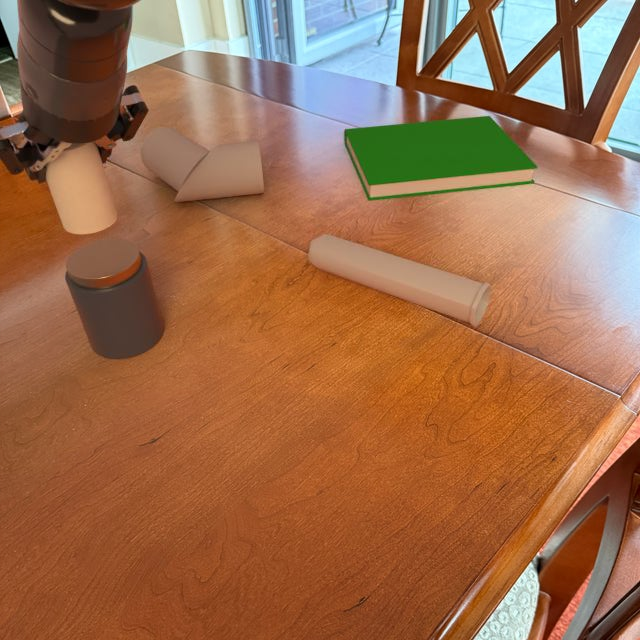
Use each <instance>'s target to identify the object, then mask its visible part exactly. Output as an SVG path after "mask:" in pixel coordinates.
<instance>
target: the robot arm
mask: <svg viewBox="0 0 640 640" xmlns="http://www.w3.org/2000/svg"><path fill="white" fill-rule="evenodd" d="M141 1H142V0H16V4H17V18H18V29H19V30H18V35H17V43H16V51H17V52H16V55H17V64H18V75H19V87H20V98H21V99H20V100H21V106H22V111H21V113H20V114H19V115H18V117H17V122H15V123H13V124H10V125H2V126H0V161H1V162H2V164H3V165H4V166H5V168H6V169H7V171H8V172H9V174H10V175H11V176H15V175H20V174H21V173H24V171H25V173H26V175H27V176H28V179H29V180H30V181H32V182H33V181H36V182H37V183H38V184H43V183H47V180H46V167H45V165H46V163H47V162H50V161H55V160H56V159H57V158H58V156H59V155H60V154H61V153H62V151H63V150H64V149H65V148H69V147H70V145H71V144H85V143H90V142H95V143H96V144H97V146H98V150H99V153H100V156H101V160H102V163H103V165H104V164H106V163H107V159H108V158H110V157H111V155H112V152H113V149H114V148H115V147H116V146H117V141H119V140H121V141H123V142H130V141H131V140H134V138H135V136H136V135H137V132H138V131H139V130H140V128H141V126H142V123H143V122H144V120H145V118H146V116H147V115H148V113H149V111H150V109H149V108H148V106H147V104H146V102H145V99H144V98H143V96H142V94H141V92H140V90H139V88H138V86H137V85H135V84H133V85H129V86H127V87H126V88H124V87H125V83H126V80H127V74H128V49H129V43H130V38H131V32H132V28H133V23H134V22H133V21H134V5H136V4H137V3H139V2H141ZM21 140H22V141H21ZM20 141H21V142H20Z"/></svg>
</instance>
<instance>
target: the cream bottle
mask: <svg viewBox="0 0 640 640" xmlns="http://www.w3.org/2000/svg"><path fill="white" fill-rule="evenodd" d="M45 167H46V183H47V186H48V189H49V191H50V194H51V197H52V200H53V203H54V205H55V207H56V211H57V213H58V217H59V219H60V222H61V224H62V227H63V229H64V230H65V231H66V232H68V233H69V234H72V235H73V234H74V235H89V234H90V235H91V234H95V233H98V232H101V231H104V230H107V229H108V228H109V227H111V226H112V225H114V224H115V223H116V222H117V220H118V212H117V208H116V205H115V201H114V198H113V195H112V191H111V187H110V185H109V181H108V178H107V177H108V176H107V174H106V171H105V166H104V164H103V163H102V160H101V156H100V153H99V150H98V146H97V144H96V143H95V142H90V143H85V144H71V145H70V147H69V148H65V149H64V150H63V151H62V153H61V154H60V155H59V156H58V158H57V159H56V160H55V161H50V162H47V163H46V165H45Z"/></svg>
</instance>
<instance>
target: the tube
mask: <svg viewBox="0 0 640 640" xmlns="http://www.w3.org/2000/svg"><path fill="white" fill-rule="evenodd" d="M307 260H308V261H309V262H310V263H311V264H312V266H314V267H315V269H317V270H318V271H321V272H324V273H326V274H328V275H329V274H330V275H332V276H335V277H338V278H340V279H344V280H346V281H349V282H352V283H355V284H357V285H360V286H364V287H366V288H369V289H372V290H374V291H378V292H380V293H383V294H385V295H389V296H392V297H394V298H397V299H400V300H403V301H405V302H408V303H411V304H414V305H417V306H421V307H423V308H426V309H429V310H431V311H434V312H437V313H440V314H443V315H446V316H448V317H452V318H455V319H456V320H460V321H463V322H466V323H468V324H470V325H471V326H472V327H474V328H477V327H478V326H479V324H480V322H481V321H482V319H483V318H484V316H485V313H486V312H487V309H488V307H489V304H490V300H491V295H492V287H491V284H490V282H487V281H486V282H479V281H476V280H473V279H470V278H467V277H464V276H461V275H458V274H454V273H452V272H448V271H445V270H441V269H439V268H437V267H433V266H429V265H426V264H423V263H420V262H417V261H414V260H410V259H407V258H404V257H401V256H397V255H394V254H392V253H388V252H385V251H383V250H379V249H376V248H373V247H369V246H366V245H363V244H360V243H357V242H354V241H350V240H347V239H344V238H341V237H338V236H336V235H331V234H328V233H324V234H322V235H319V236H317V237H316V238H314V239H313V238H312V240H310V244H309V248H308V253H307Z"/></svg>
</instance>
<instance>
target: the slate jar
mask: <svg viewBox="0 0 640 640" xmlns="http://www.w3.org/2000/svg"><path fill="white" fill-rule="evenodd" d="M65 269H66V271H65V275H64V279H65V283H66V285H67V288H68V291H69V293H70V296H71V299H72V301H73V304H74V306H75V308H76V309H75V310H76V311H77V314H78V316H79V319H80V322H81V324H82V328H83V330H84V332H85V335H86V337H87V340H88V343H89V345H90V347H91V349H92V350H93V352H94V353H95V354H97V355H98V356H100V357H102V358H105V359H111V360H124V359H125V360H126V359H130V358H134V357H137V356H140V355H142V354H145V353H147V352H148V351H149V350H151V349H152V348H154V347H155V346H156V345H157V344H158V343H159V342H160V340H161V339H162V338H163V335H164V332H165V324H164V320H163V316H162V312H161V309H160V305H159V301H158V298H157V293H156V289H155V287H154V286H155V285H154V283H153V278H152V274H151V271H150V268H149V265H148V260H147V258H146V256H145V254H144V253H143V252H142V251H140V248H139V246H138V245H137V244H136V243H135V242H133V241H131V240H129V239H126V238H122V237H121V238H119V237H108V238H107V237H106V238H101V239H96V240H93V241H89V242H87V243H85V244H83V245H81V246H79V247H77V248H76V249H75V250H74V251H72V252H71V253H70V254H69V256H67V259H66V260H65Z"/></svg>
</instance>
